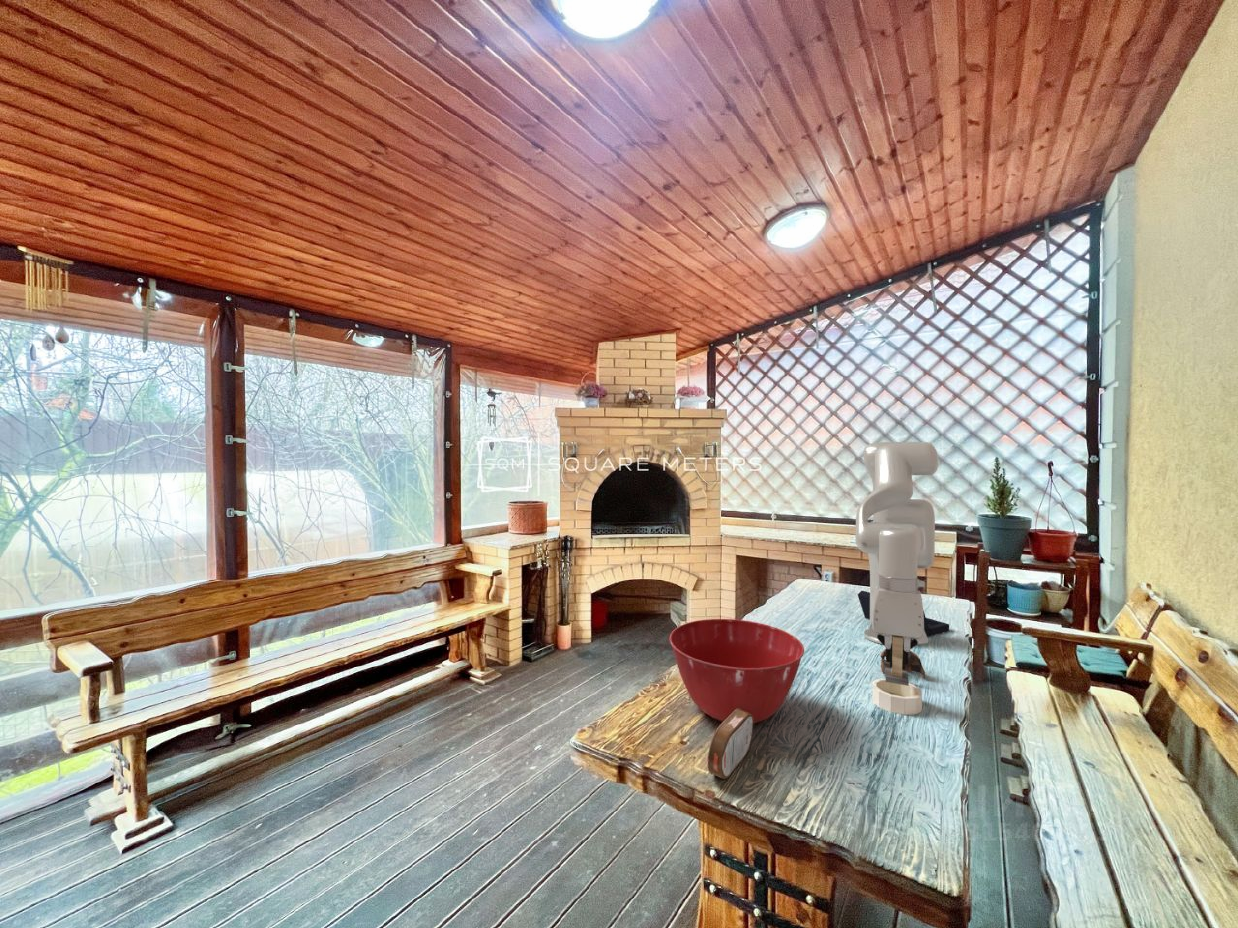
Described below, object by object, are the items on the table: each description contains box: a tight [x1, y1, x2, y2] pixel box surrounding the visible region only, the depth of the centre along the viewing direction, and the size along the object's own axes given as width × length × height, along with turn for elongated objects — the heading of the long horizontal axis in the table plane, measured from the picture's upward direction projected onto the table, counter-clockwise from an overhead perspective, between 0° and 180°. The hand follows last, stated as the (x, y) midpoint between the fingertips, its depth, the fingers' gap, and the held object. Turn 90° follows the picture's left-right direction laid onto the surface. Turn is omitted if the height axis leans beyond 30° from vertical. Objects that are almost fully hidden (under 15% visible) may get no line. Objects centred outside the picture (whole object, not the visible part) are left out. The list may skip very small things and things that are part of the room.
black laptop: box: [857, 590, 950, 638], centre depth 166 cm, size 21×16×10 cm
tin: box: [707, 708, 754, 780], centre depth 91 cm, size 15×3×8 cm, turn 144°
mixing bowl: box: [669, 618, 805, 725], centre depth 111 cm, size 28×28×16 cm
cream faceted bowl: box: [871, 678, 923, 716], centre depth 114 cm, size 10×10×4 cm
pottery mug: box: [880, 648, 926, 680], centre depth 129 cm, size 12×9×8 cm
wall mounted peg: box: [884, 636, 910, 686], centre depth 113 cm, size 4×4×10 cm
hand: (896, 665), depth 113 cm, fingers closed on wall mounted peg
